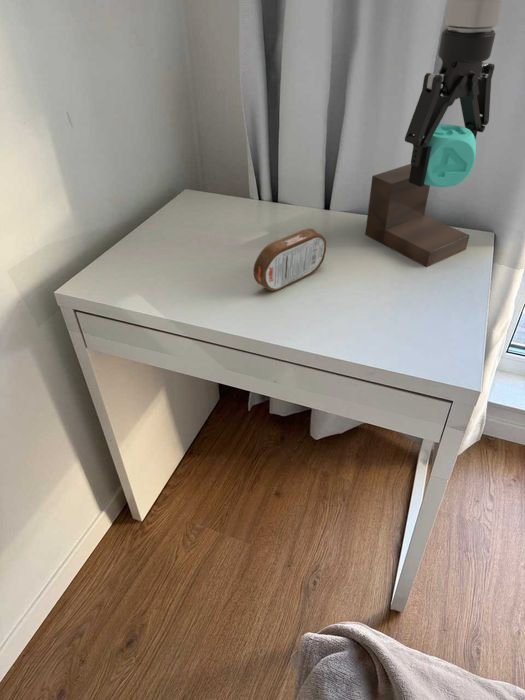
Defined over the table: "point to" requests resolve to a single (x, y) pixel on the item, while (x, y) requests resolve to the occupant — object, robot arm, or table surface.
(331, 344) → the table surface
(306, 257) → the tin
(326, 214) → the table surface
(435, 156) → the decorative dice
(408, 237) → the shelf stand
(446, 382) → the table surface
